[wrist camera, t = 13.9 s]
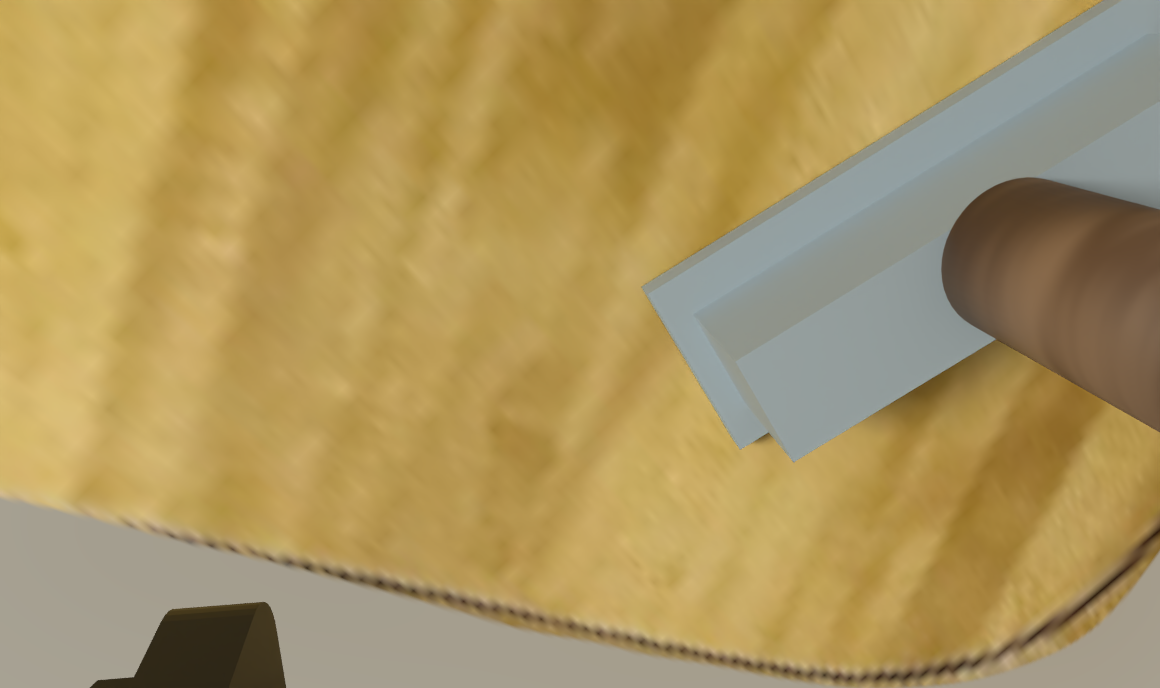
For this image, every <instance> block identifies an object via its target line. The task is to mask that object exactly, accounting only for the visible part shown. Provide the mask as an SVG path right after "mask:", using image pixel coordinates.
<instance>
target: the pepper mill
mask: <svg viewBox="0 0 1160 688" xmlns="http://www.w3.org/2000/svg"><path fill="white" fill-rule="evenodd" d="M941 274H942V283H943V287H944V291H945V294H946V296H947V299H948V301H949V302H950V304H951V306H952V307H953V309H954V310H955V311H956V313H957V314H958V315H959V316H960V317H961V318H962V319H964V320H965V321H966V322H968V323H969V324H971V325H972V326H974V327H976V328H978V329H979V330H981V331H983V332H985V333H986V334H988V335H990V336H992V337H993V338H995V339H997V340H999V341H1000V342H1002V343H1004V344H1006V345H1007V346H1009V347H1011V348H1013V349H1014V350H1016V351H1018V352H1020V353H1021V354H1023V355H1025V356H1027V357H1028V358H1030V359H1032V360H1034V361H1035V362H1037V363H1039V364H1041V365H1043V366H1044V367H1046V368H1048V369H1050V370H1051V371H1053V372H1055V373H1057V374H1058V375H1060V376H1062V377H1064V378H1065V379H1067V380H1069V381H1071V382H1072V383H1074V384H1076V385H1078V386H1079V387H1081V388H1083V389H1085V390H1086V391H1088V392H1090V393H1092V394H1093V395H1095V396H1097V397H1099V398H1101V399H1102V400H1104V401H1106V402H1108V403H1109V404H1111V405H1113V406H1115V407H1116V408H1118V409H1120V410H1122V411H1123V412H1125V413H1127V414H1129V415H1130V416H1132V417H1134V418H1136V419H1137V420H1139V421H1141V422H1143V423H1144V424H1146V425H1148V426H1150V427H1151V428H1153V429H1155V430H1157V431H1159V432H1160V209H1156V208H1152V207H1149V206H1145V205H1141V204H1137V203H1133V202H1130V201H1126V200H1122V199H1118V198H1115V197H1111V196H1107V195H1103V194H1100V193H1096V192H1092V191H1088V190H1084V189H1081V188H1077V187H1073V186H1069V185H1066V184H1062V183H1058V182H1054V181H1051V180H1047V179H1042V178H1034V177H1025V178H1016V179H1012V180H1008V181H1005V182H1002V183H1000V184H997V185H995V186H993V187H992V188H990V189H988V190H986V191H985V192H983V193H982V194H981V195H979V196H978V197H977V198H976V199H974V200H973V201H972V202H971V203H970V204H969V205H968V206H967V207H966V208H965V209H964V211H963V212H962V213H961V214H960V216H959V217H958V219H957V220H956V222H955V223H954V225H953V227H952V229H951V230H950V233H949V235H948V238H947V240H946V243H945V247H944V250H943V256H942V264H941Z"/></svg>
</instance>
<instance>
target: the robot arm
mask: <svg viewBox="0 0 1160 688" xmlns="http://www.w3.org/2000/svg"><path fill="white" fill-rule="evenodd" d="M90 688H286V684H285V678H284V672H283V666H282V660H281V654H280V648H279V642H278V636H277V631H276V624H275V620H274V616H273V613H272V610H271V608H270V606H269V605H268V604H267V603H265V602H259V603H245V604H234V605H220V606H207V607H196V608H182V609H172V610H170V611H169V612H168V613H167V614H166V615H165V616H164V618H163V620H162V621H161V623H160V625H159V627H158V629H157V631H156V633H155V636H154V638H153V640H152V642H151V644H150V646H149V648H148V650H147V652H146V654H145V656H144V658H143V660H142V662H141V664H140V666H139V668H138V670H137V672H136V674H135V676H134V677H132V678H120V679H108V680H98V681H97V682H95V683H94V684H93V685H92V686H91V687H90Z"/></svg>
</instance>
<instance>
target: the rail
mask: <svg viewBox="0 0 1160 688" xmlns="http://www.w3.org/2000/svg"><path fill="white" fill-rule="evenodd" d="M1025 177H1034V178H1042V179H1047V180H1051V181H1054V182H1058V183H1062V184H1066V185H1069V186H1073V187H1077V188H1081V189H1084V190H1088V191H1092V192H1096V193H1100V194H1103V195H1107V196H1111V197H1115V198H1118V199H1122V200H1126V201H1130V202H1133V203H1137V204H1141V205H1145V206H1149V207H1152V208H1156V209H1160V0H1103V1H1102V2H1100V3H1099V4H1097V5H1095V6H1094V7H1092V8H1090V9H1089V10H1087V11H1086V12H1084V13H1082V14H1081V15H1079V16H1078V17H1076V18H1074V19H1073V20H1071V21H1069V22H1068V23H1066V24H1065V25H1063V26H1061V27H1060V28H1058V29H1057V30H1055V31H1053V32H1052V33H1050V34H1049V35H1047V36H1045V37H1044V38H1042V39H1040V40H1039V41H1037V42H1036V43H1034V44H1032V45H1031V46H1029V47H1028V48H1026V49H1024V50H1023V51H1021V52H1020V53H1018V54H1016V55H1015V56H1013V57H1011V58H1010V59H1008V60H1007V61H1005V62H1003V63H1002V64H1000V65H999V66H997V67H995V68H994V69H992V70H990V71H989V72H987V73H986V74H984V75H982V76H981V77H979V78H978V79H976V80H974V81H973V82H971V83H970V84H968V85H966V86H965V87H963V88H961V89H960V90H958V91H957V92H955V93H953V94H952V95H950V96H949V97H947V98H945V99H944V100H942V101H941V102H939V103H937V104H936V105H934V106H932V107H931V108H929V109H928V110H926V111H924V112H923V113H921V114H920V115H918V116H916V117H915V118H913V119H911V120H910V121H908V122H907V123H905V124H903V125H902V126H900V127H899V128H897V129H895V130H894V131H892V132H891V133H889V134H887V135H886V136H884V137H882V138H881V139H879V140H878V141H876V142H874V143H873V144H871V145H870V146H868V147H866V148H865V149H863V150H861V151H860V152H858V153H857V154H855V155H853V156H852V157H850V158H849V159H847V160H845V161H844V162H842V163H841V164H839V165H837V166H836V167H834V168H832V169H831V170H829V171H828V172H826V173H824V174H823V175H821V176H820V177H818V178H816V179H815V180H813V181H812V182H810V183H808V184H807V185H805V186H803V187H802V188H800V189H799V190H797V191H795V192H794V193H792V194H791V195H789V196H787V197H786V198H784V199H782V200H781V201H779V202H778V203H776V204H774V205H773V206H771V207H770V208H768V209H766V210H765V211H763V212H762V213H760V214H758V215H757V216H755V217H753V218H752V219H750V220H749V221H747V222H745V223H744V224H742V225H741V226H739V227H737V228H736V229H734V230H733V231H731V232H729V233H728V234H726V235H724V236H723V237H721V238H720V239H718V240H716V241H715V242H713V243H712V244H710V245H708V246H707V247H705V248H703V249H702V250H700V251H699V252H697V253H695V254H694V255H692V256H691V257H689V258H687V259H686V260H684V261H683V262H681V263H679V264H678V265H676V266H674V267H673V268H671V269H670V270H668V271H666V272H665V273H663V274H662V275H660V276H658V277H657V278H655V279H653V280H652V281H650V282H649V283H647V284H645V285H644V286H642V289H643V290H644V292H645V294H646V295H647V297H648V299H649V300H650V302H651V304H652V305H653V307H654V309H655V311H656V312H657V314H658V316H659V317H660V319H661V321H662V322H663V324H664V326H665V327H666V329H667V331H668V332H669V334H670V336H671V337H672V339H673V341H674V342H675V344H676V346H677V347H678V349H679V351H680V352H681V354H682V356H683V357H684V359H685V361H686V362H687V364H688V366H689V367H690V369H691V371H692V372H693V374H694V376H695V377H696V379H697V381H698V382H699V384H700V386H701V387H702V389H703V391H704V392H705V394H706V396H707V397H708V399H709V401H710V402H711V404H712V406H713V407H714V409H715V411H716V412H717V414H718V416H719V417H720V419H721V421H722V422H723V424H724V426H725V427H726V429H727V431H728V432H729V434H730V436H731V437H732V439H733V440H734V442H735V443H736V444H737V446H738V447H739V449H740V450H741V449H742V448H744V447H745V446H747V445H749V444H750V443H752V442H754V441H755V440H757V439H759V438H760V437H762V436H763V435H765V434H767V433H768V432H769V433H770V434H771V436H772V437H773V438H774V439H775V440H776V442H777V443H778V444H779V445H780V446H781V448H782V449H783V450H784V451H785V453H786V454H787V455H788V456H789V457H790V459H791V460H792V461H793V462H795V461H796V460H798V459H800V458H801V457H803V456H805V455H806V454H808V453H810V452H811V451H813V450H815V449H816V448H818V447H819V446H821V445H823V444H824V443H826V442H828V441H829V440H831V439H833V438H834V437H836V436H838V435H839V434H841V433H843V432H844V431H846V430H847V429H849V428H851V427H852V426H854V425H856V424H857V423H859V422H861V421H862V420H864V419H866V418H867V417H869V416H871V415H872V414H874V413H875V412H877V411H879V410H880V409H882V408H884V407H885V406H887V405H889V404H890V403H892V402H894V401H895V400H897V399H899V398H900V397H902V396H903V395H905V394H907V393H908V392H910V391H912V390H913V389H915V388H917V387H918V386H920V385H922V384H923V383H925V382H927V381H928V380H930V379H931V378H933V377H935V376H936V375H938V374H940V373H941V372H943V371H945V370H946V369H948V368H950V367H951V366H953V365H955V364H956V363H958V362H960V361H961V360H963V359H964V358H966V357H968V356H969V355H971V354H973V353H974V352H976V351H978V350H979V349H981V348H983V347H984V346H986V345H988V344H989V343H991V342H992V341H994V340H996V339H995V338H993V337H992V336H990V335H988V334H986V333H985V332H983V331H981V330H979V329H978V328H976V327H974V326H972V325H971V324H969V323H968V322H966V321H965V320H964V319H962V318H961V317H960V316H959V315H958V314H957V313H956V311H955V310H954V309H953V307H952V306H951V304H950V302H949V301H948V299H947V296H946V294H945V291H944V287H943V283H942V274H941V264H942V256H943V250H944V247H945V243H946V240H947V238H948V235H949V233H950V230H951V229H952V227H953V225H954V223H955V222H956V220H957V219H958V217H959V216H960V214H961V213H962V212H963V211H964V209H965V208H966V207H967V206H968V205H969V204H970V203H971V202H972V201H973V200H974V199H976V198H977V197H978V196H979V195H981V194H982V193H983V192H985V191H986V190H988V189H990V188H992V187H993V186H995V185H997V184H1000V183H1002V182H1005V181H1008V180H1012V179H1016V178H1025Z"/></svg>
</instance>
